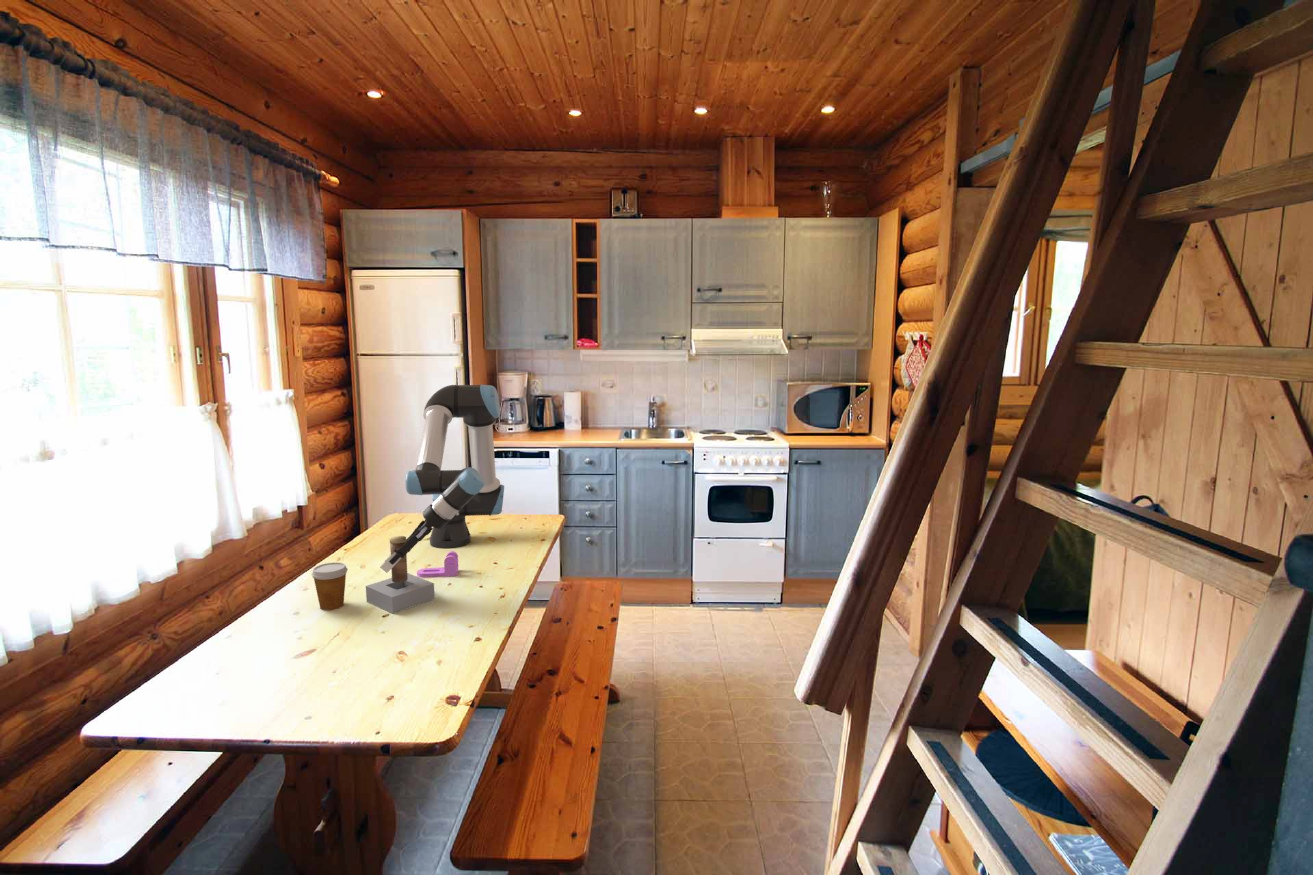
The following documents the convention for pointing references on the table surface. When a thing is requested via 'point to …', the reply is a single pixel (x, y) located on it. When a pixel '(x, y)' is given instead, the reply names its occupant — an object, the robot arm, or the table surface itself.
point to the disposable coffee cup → (330, 584)
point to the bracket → (442, 568)
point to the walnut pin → (401, 567)
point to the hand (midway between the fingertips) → (386, 566)
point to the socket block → (400, 593)
